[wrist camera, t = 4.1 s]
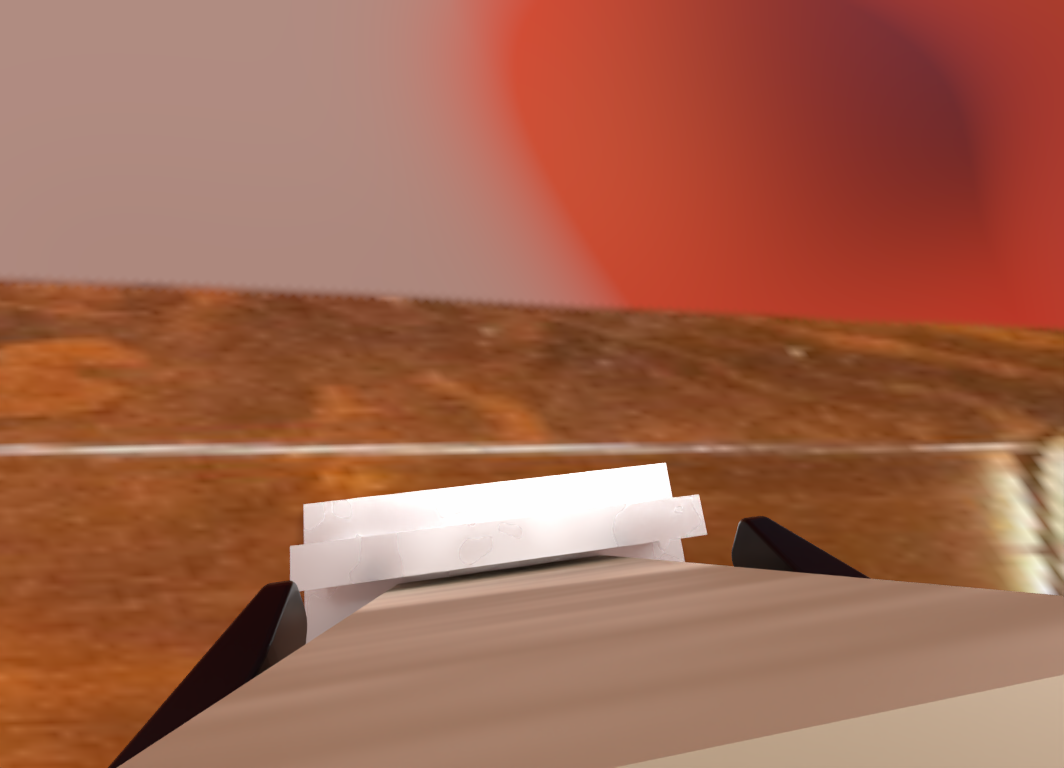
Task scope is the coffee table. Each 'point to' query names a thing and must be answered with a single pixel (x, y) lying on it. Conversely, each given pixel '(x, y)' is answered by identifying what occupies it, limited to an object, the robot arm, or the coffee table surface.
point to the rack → (483, 533)
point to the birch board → (653, 676)
